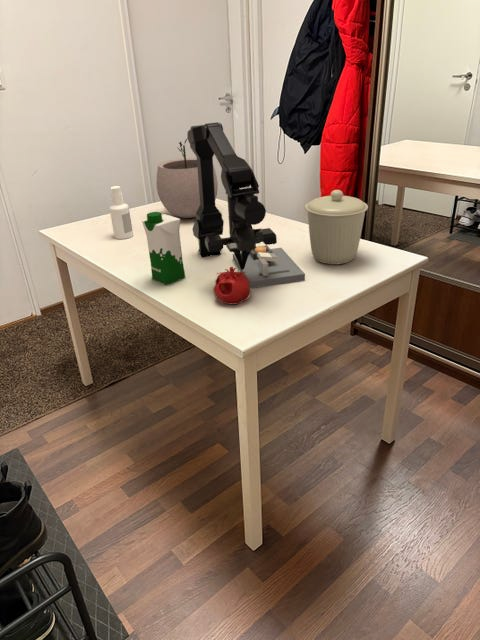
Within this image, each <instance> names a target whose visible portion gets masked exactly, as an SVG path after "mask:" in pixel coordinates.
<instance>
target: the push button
mask: <svg viewBox="0 0 480 640" xmlns="http://www.w3.org/2000/svg"><path fill="white" fill-rule="evenodd" d="M258 252H266V247H265V245H258V246H257V245H256V249H255V253H258Z"/></svg>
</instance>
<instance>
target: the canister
mask: <svg viewBox="0 0 480 640" xmlns="http://www.w3.org/2000/svg"><path fill="white" fill-rule="evenodd" d="M304 209H305V211H307V220H308V222H307V223H308V231H309V232H308V233H309V243H310V250H311V254H312V256H313V258H315V260H317V261H318V262H320V263H323V264H328V265H340V264H346V263H349V262H351V261H352V260H353V259H354V258H355V257H356V255H357V253H358V250H359V246H360V241H361V235H362V230H363V226H364V219H365V215H366V211H368V209H369V206H368V204H367V203H366V202H364V201H363V200H361V199H360V198H357V197H354V196H349V195H344V193H343V191H342V190H340V189H334V190H332V191H331V192H330V195H325V196H320V197H317V198H314V199H312V200H311V201H309V202H307V203H306V204H305V206H304Z"/></svg>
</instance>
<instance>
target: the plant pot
mask: <svg viewBox="0 0 480 640" xmlns="http://www.w3.org/2000/svg"><path fill="white" fill-rule="evenodd" d="M187 141H188V136H187V138H186V139H185V140H184V145H183V144H182V141H179V142H178V144H179V147H177V149H178V150H179V152H181V155H182V157H181V158H175V159H168V160H164V161H162V162H160V163H158V165H157V170H156V171H157V172H156V191H157V195H158V198H159V200H160V202H161V204H162V206H163V207H164V209H166V210H167V211H168V212H169V213H170V214H171V215H173V216H176V217H177V218H178V217H179V218H185V219H191V218H196V212H197V210H198V208H199V206H200V195H199V182H198V169H197V157H187V155H186V142H187ZM213 173H214V189H215V201H216V199H217V195H218V190H219V188H218V187H219V185H218V184H219V183H218V176H217V173H216V169H215V165H214V164H213Z"/></svg>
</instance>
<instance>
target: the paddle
mask: <svg viewBox="0 0 480 640" xmlns="http://www.w3.org/2000/svg"><path fill="white" fill-rule="evenodd" d="M259 271H260V272H261V274H262V275H263V276H268V263H267V261H266V260H265V259H259Z"/></svg>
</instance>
